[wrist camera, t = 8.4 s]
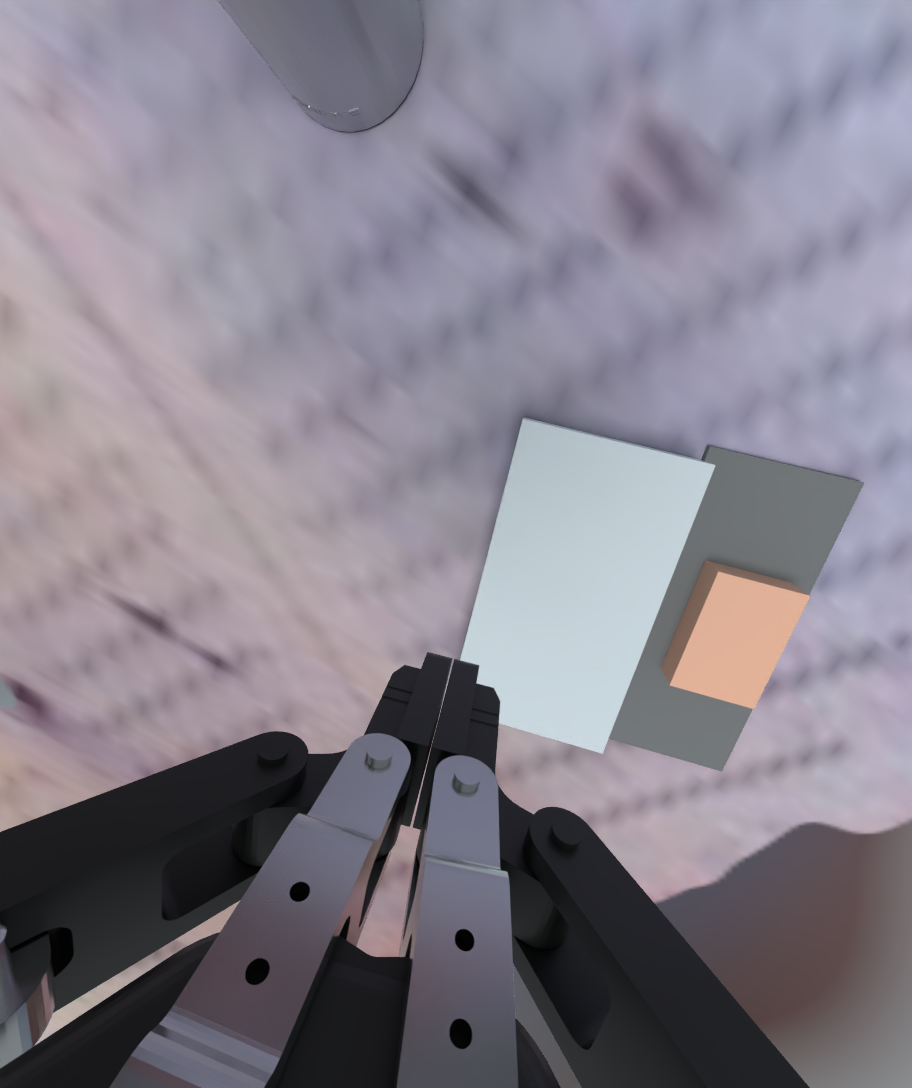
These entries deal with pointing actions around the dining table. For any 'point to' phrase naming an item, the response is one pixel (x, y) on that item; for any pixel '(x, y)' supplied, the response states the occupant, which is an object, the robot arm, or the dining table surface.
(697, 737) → the mat
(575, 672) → the plate
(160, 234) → the dining table surface
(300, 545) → the dining table surface
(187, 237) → the dining table surface
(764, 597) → the peach rectangular block
